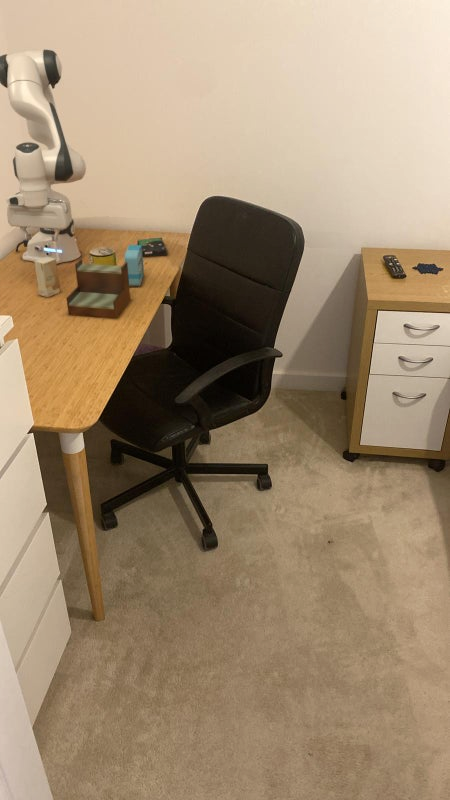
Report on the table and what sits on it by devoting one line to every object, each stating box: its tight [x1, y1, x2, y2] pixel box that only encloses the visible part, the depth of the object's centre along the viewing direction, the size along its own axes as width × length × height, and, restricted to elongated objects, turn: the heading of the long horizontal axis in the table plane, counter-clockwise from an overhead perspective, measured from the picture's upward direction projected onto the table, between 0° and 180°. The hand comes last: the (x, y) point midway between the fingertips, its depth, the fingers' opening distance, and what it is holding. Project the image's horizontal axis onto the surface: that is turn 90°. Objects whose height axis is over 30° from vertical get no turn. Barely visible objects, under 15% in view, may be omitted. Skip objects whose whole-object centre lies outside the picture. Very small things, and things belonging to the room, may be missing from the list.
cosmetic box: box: [33, 257, 61, 298], centre depth 221 cm, size 6×4×12 cm
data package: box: [124, 244, 145, 288], centre depth 231 cm, size 12×4×12 cm, turn 179°
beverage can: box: [88, 246, 118, 266], centre depth 229 cm, size 9×9×12 cm
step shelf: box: [66, 258, 131, 320], centre depth 211 cm, size 16×15×14 cm
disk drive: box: [137, 237, 168, 258], centre depth 261 cm, size 10×3×15 cm
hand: (41, 240), depth 214 cm, fingers open, 8 cm apart
